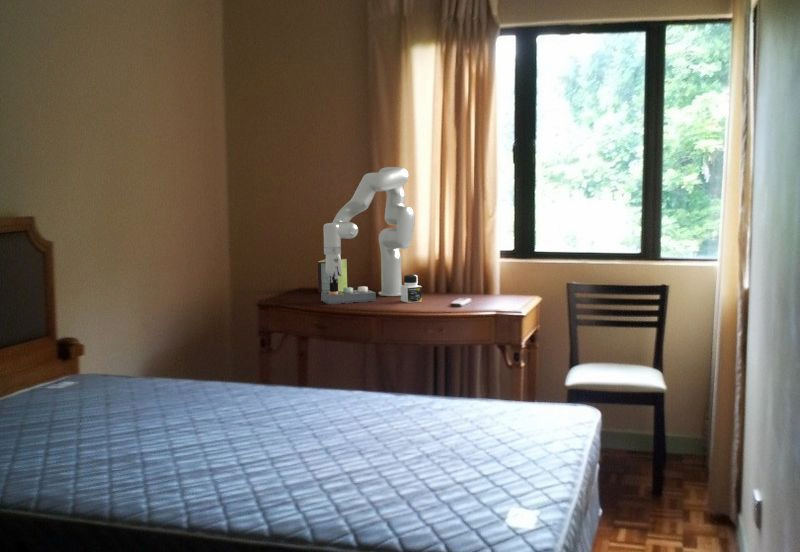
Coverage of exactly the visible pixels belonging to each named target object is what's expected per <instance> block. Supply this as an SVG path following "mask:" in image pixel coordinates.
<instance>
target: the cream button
mask: <svg viewBox="0 0 800 552" xmlns="http://www.w3.org/2000/svg"><path fill="white" fill-rule="evenodd" d="M368 287H369V286H364V285H363V286H357V290H358V292H368V290H369V288H368Z"/></svg>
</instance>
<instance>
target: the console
mask: <svg viewBox="0 0 800 552" xmlns="http://www.w3.org/2000/svg"><path fill="white" fill-rule="evenodd" d="M320 296H321V297H320V301H321V302H322V301H323V302H322V303H324V302H325V304H327V305H330V304H331V305H341V303H345V304H354V303H353V302H359V303H369V302H368V301H372V302H377V297H376V296H377V295H376V291H373V290H369V289H368V292H358V289H353V293H343V291H338V294H329V292H321V293H320Z"/></svg>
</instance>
